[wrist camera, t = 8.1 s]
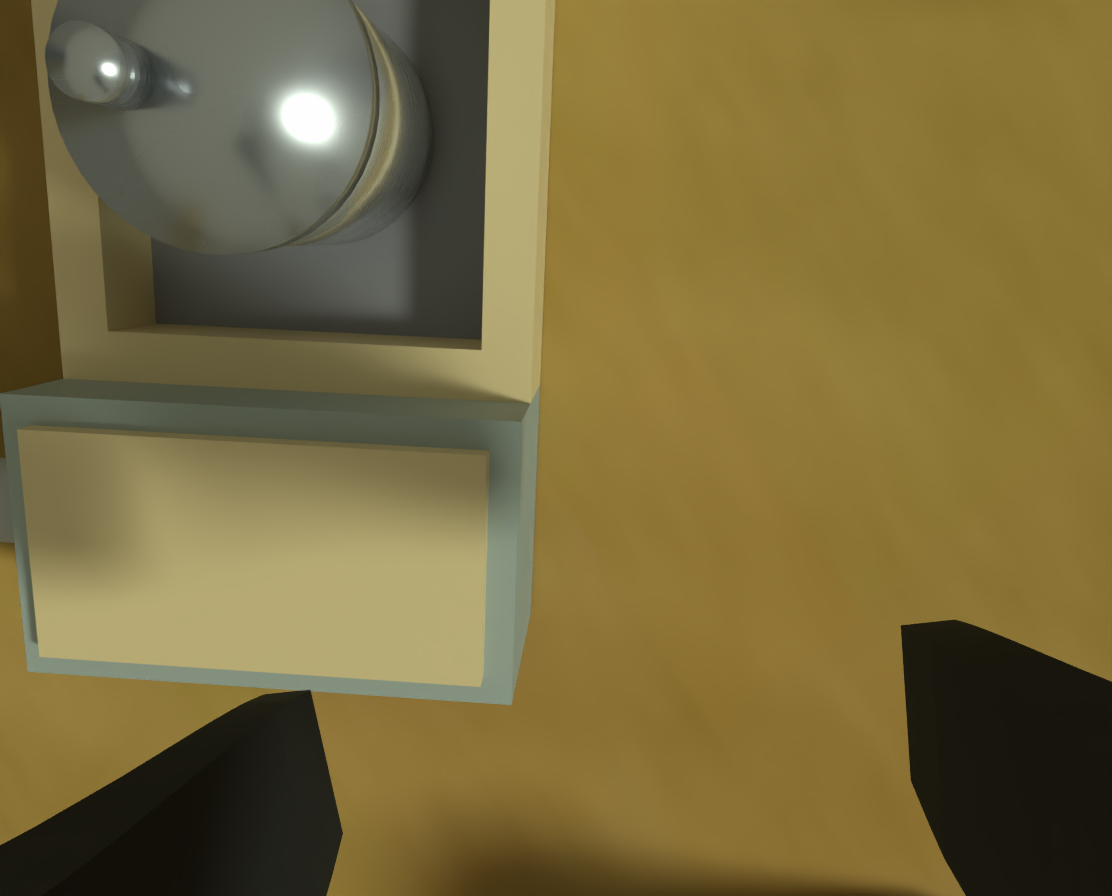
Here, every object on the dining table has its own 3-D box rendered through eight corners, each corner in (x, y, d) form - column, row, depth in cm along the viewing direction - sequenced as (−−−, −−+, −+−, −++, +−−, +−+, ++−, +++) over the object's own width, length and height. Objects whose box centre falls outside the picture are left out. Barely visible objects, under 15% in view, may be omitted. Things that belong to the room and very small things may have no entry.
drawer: (558, -85, 17) (541, -207, 13) (530, 611, 21) (509, 716, 16) (-44, -101, 18) (-271, -223, 13) (25, 578, 21) (-137, 670, 17)
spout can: (450, 22, 17) (367, -102, 11) (426, 264, 19) (338, 278, 12) (214, -11, 17) (-3, -151, 11) (205, 233, 19) (4, 231, 12)
